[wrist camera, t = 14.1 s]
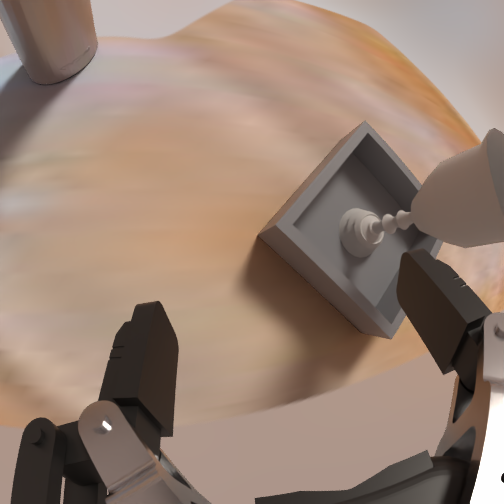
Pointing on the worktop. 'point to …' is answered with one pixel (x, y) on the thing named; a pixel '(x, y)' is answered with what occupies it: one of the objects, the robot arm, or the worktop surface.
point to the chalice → (444, 204)
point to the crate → (328, 239)
